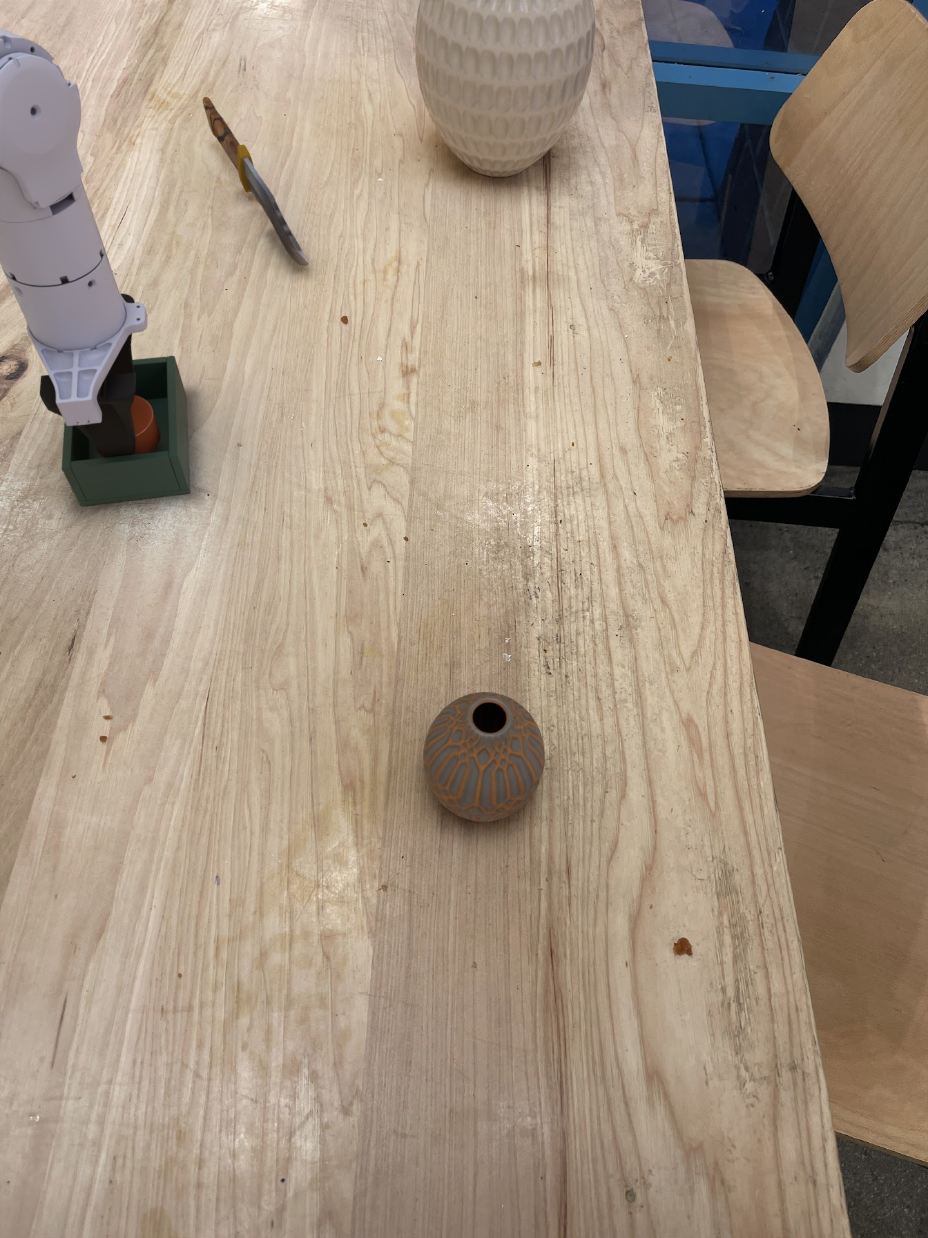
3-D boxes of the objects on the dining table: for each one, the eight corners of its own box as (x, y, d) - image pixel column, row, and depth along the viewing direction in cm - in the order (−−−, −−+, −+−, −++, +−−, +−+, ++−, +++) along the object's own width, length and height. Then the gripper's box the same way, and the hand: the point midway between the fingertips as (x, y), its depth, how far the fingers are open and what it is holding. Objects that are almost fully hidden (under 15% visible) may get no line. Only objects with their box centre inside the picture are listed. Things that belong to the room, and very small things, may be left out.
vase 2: (407, 748, 54) (405, 680, 47) (511, 714, 56) (524, 643, 48) (446, 852, 51) (450, 797, 43) (555, 813, 52) (577, 753, 45)
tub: (80, 506, 63) (61, 468, 60) (84, 405, 68) (67, 365, 65) (190, 493, 64) (177, 455, 61) (186, 395, 70) (174, 355, 66)
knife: (319, 285, 77) (313, 234, 73) (304, 290, 77) (297, 238, 73) (220, 142, 88) (210, 90, 84) (207, 145, 88) (196, 93, 84)
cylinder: (94, 466, 62) (84, 444, 60) (95, 419, 64) (86, 396, 63) (161, 458, 63) (153, 436, 61) (160, 412, 65) (153, 390, 63)
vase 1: (415, 112, 93) (413, -158, 74) (567, 115, 94) (604, -151, 75) (416, 204, 84) (415, -76, 65) (585, 206, 85) (631, -69, 66)
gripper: (123, 332, 48) (181, 496, 59) (125, 178, 55) (176, 350, 67) (-15, 345, 47) (71, 509, 58) (7, 186, 54) (79, 359, 66)
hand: (120, 425), depth 62 cm, fingers closed on cylinder, 4 cm apart
